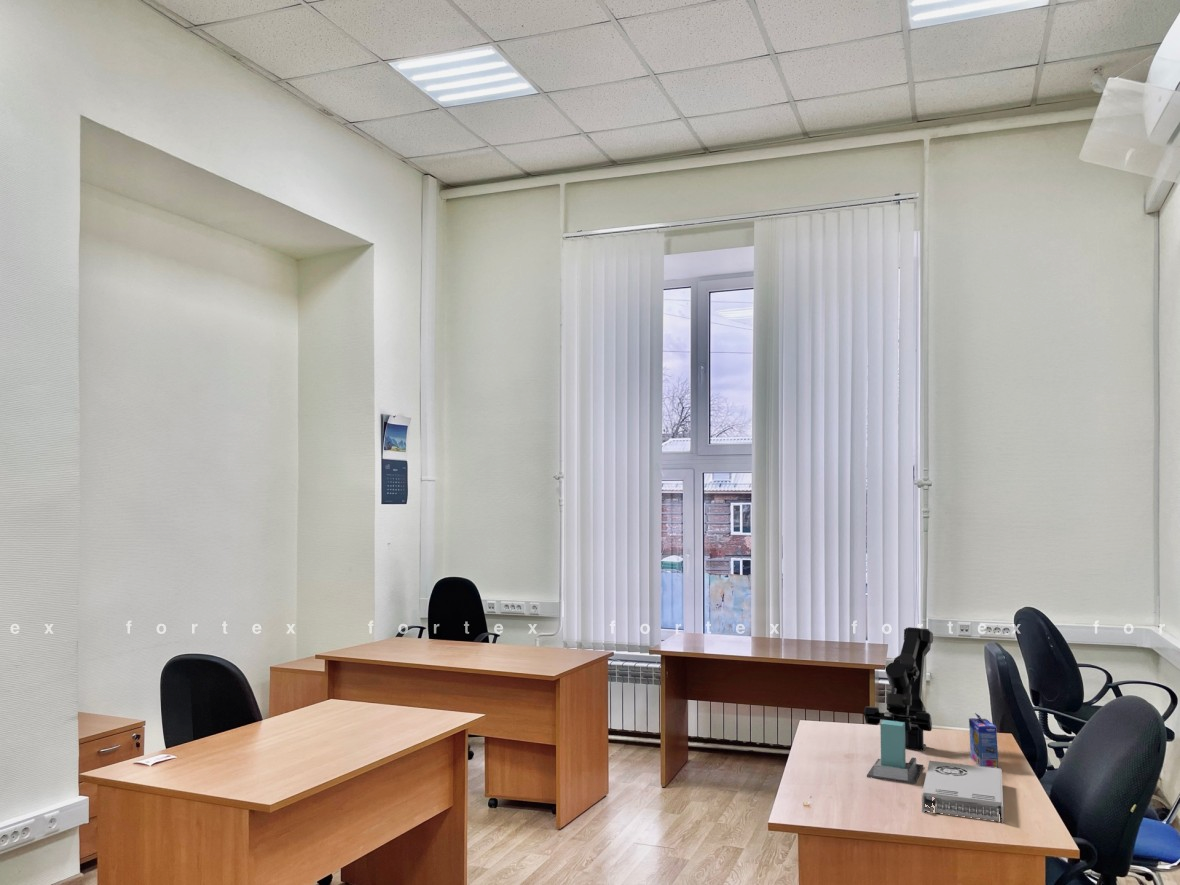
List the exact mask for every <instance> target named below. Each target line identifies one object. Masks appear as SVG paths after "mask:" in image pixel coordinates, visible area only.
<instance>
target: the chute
mask: <svg viewBox="0 0 1180 885" xmlns="http://www.w3.org/2000/svg"><path fill="white" fill-rule="evenodd" d="M922 770H924V764H918V763H917V758H916V757H911V758H910V760H909V761H908V762H906V768H899V767H892V766H884V765H881V758H877V760H876V761H875V762H874V764H873V766H872V767H871V768H870V770H869V771H868V773H867V774H866V778H871V777H872V779H878V780H885V779H886V780H885V781H893V782H898V783H899V782H900V783H907V784H913V785H915V784H916V782H917V780H918V779H919V776H920V775H921V773H922Z"/></svg>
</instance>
